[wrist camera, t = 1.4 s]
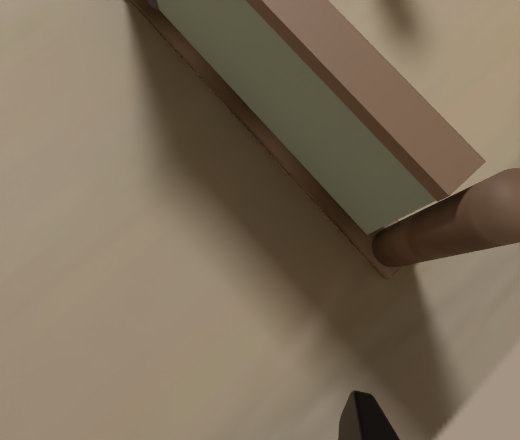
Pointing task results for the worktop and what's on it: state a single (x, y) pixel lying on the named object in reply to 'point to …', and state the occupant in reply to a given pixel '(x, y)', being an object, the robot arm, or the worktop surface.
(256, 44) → the gate
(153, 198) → the worktop surface
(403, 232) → the gate frame
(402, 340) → the worktop surface
